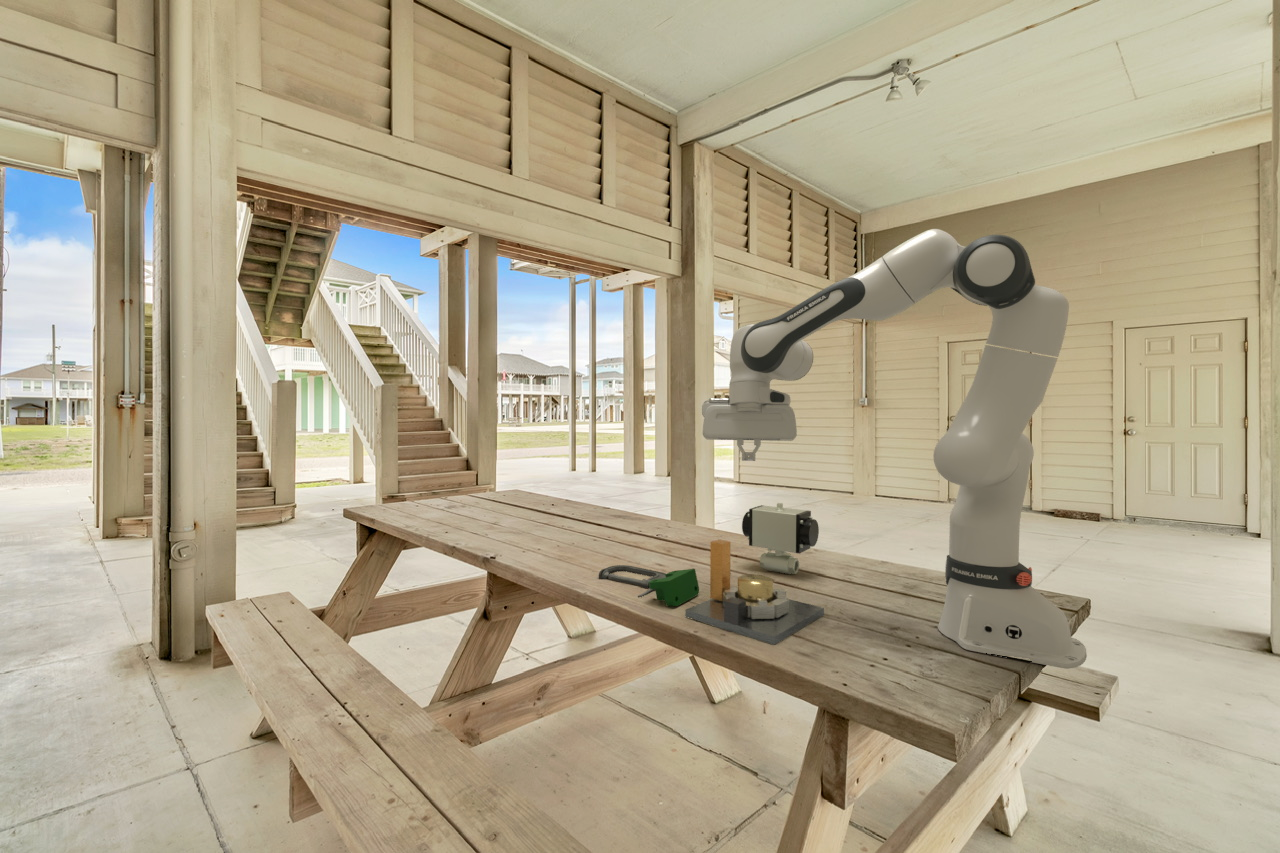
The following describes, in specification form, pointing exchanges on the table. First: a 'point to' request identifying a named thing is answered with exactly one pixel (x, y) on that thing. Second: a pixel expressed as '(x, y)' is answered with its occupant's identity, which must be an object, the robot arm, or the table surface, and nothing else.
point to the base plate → (736, 621)
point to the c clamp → (643, 583)
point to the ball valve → (780, 535)
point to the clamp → (676, 587)
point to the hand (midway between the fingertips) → (748, 460)
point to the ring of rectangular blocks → (723, 592)
